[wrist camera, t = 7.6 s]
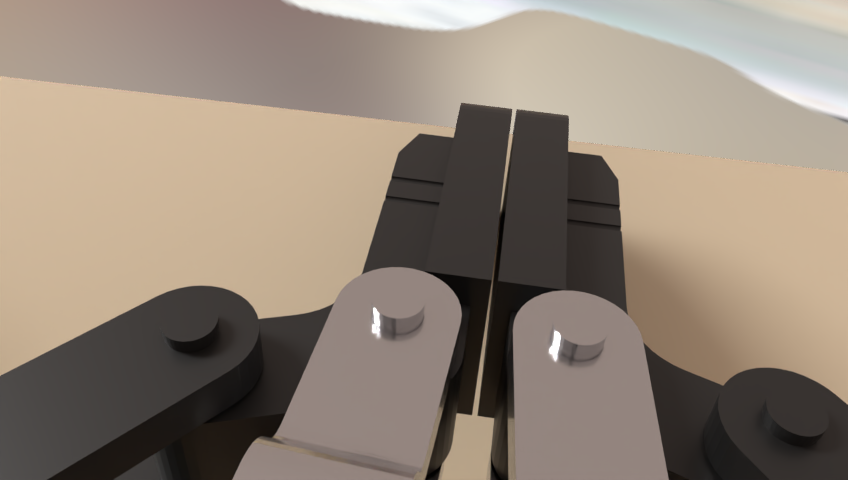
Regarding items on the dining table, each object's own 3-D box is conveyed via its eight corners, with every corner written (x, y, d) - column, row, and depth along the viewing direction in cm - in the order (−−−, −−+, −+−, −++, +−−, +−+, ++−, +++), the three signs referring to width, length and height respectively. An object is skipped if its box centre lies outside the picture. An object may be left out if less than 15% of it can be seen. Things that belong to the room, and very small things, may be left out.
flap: (-226, 524, 12) (-128, 61, 13) (-204, 518, 12) (-110, 70, 13) (1171, 732, 11) (1181, 209, 12) (1146, 718, 11) (1158, 214, 12)
